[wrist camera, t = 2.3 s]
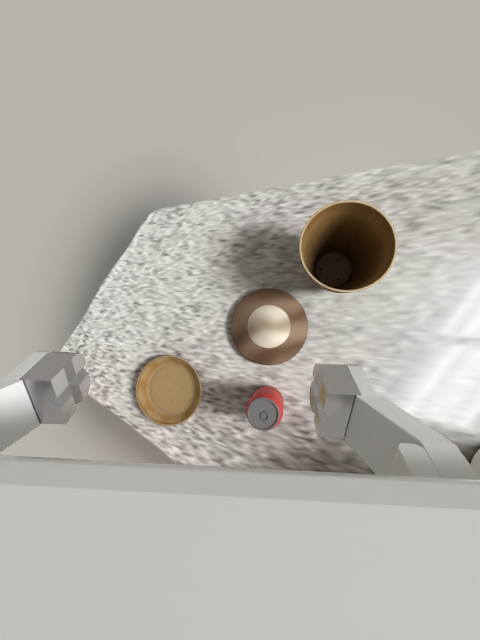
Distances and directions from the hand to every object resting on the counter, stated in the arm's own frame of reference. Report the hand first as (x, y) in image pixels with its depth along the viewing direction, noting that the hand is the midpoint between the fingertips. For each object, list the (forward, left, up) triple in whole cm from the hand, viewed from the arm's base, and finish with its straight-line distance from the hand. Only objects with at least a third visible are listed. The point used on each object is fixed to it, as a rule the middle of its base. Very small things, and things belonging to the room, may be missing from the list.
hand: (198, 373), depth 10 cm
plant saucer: (+2, +23, -54) cm, 59 cm away
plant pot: (+10, -19, -53) cm, 57 cm away
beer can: (-9, +5, -53) cm, 54 cm away
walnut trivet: (+5, -2, -53) cm, 53 cm away
